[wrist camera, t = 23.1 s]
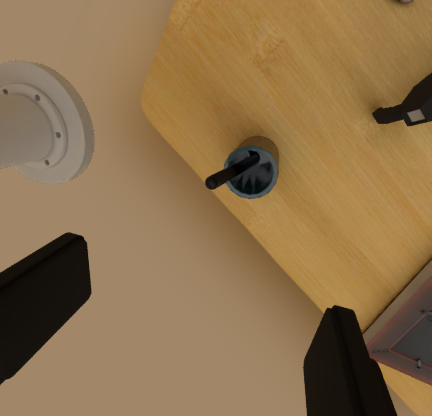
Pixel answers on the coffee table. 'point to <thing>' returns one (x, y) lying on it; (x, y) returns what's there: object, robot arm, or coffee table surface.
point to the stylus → (231, 172)
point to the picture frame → (406, 330)
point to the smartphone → (405, 1)
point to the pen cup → (254, 168)
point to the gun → (410, 106)
